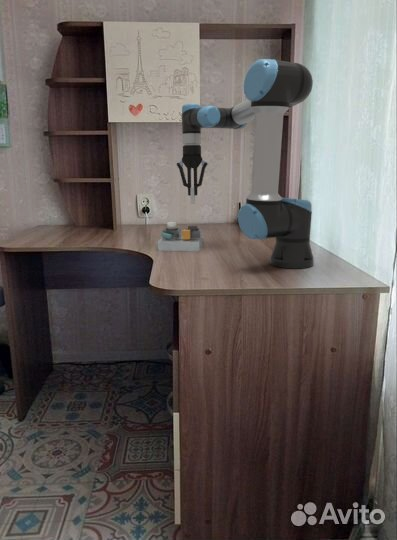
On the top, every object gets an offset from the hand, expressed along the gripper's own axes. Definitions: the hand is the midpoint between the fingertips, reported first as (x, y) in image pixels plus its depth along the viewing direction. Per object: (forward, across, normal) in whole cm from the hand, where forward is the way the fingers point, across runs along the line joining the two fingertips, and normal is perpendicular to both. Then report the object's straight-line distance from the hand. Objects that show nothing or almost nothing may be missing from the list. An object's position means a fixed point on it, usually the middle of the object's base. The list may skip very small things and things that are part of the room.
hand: (192, 203), depth 178 cm
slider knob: (+14, +2, +7) cm, 16 cm away
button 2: (+13, 0, 0) cm, 13 cm away
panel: (+18, +5, +4) cm, 19 cm away
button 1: (+11, +9, 0) cm, 14 cm away
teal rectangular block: (+13, +10, +7) cm, 18 cm away
